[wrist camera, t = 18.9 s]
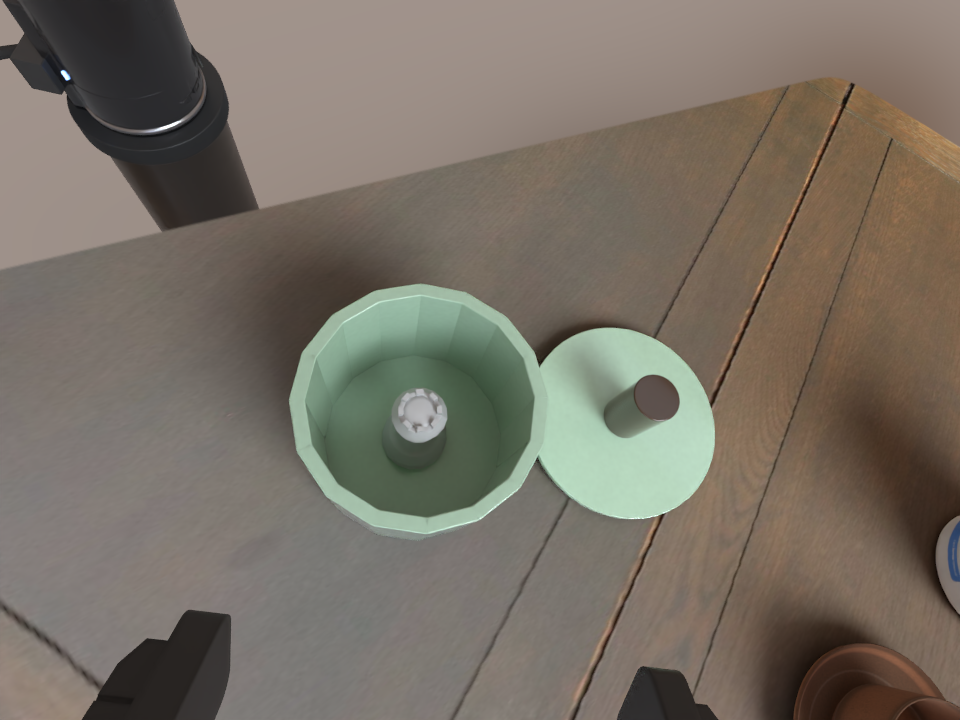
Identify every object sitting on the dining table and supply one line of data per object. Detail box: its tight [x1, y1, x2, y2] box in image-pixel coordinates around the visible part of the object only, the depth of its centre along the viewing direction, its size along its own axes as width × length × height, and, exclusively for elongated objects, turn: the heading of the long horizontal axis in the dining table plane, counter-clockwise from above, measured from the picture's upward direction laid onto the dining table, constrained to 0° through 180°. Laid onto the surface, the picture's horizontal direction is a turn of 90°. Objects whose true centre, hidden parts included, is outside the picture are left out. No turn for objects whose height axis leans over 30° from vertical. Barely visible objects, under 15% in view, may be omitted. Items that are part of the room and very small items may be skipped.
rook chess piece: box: [382, 388, 447, 469], centre depth 35 cm, size 4×4×8 cm
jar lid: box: [538, 328, 715, 519], centre depth 39 cm, size 15×15×7 cm
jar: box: [289, 283, 548, 541], centre depth 34 cm, size 14×14×10 cm
